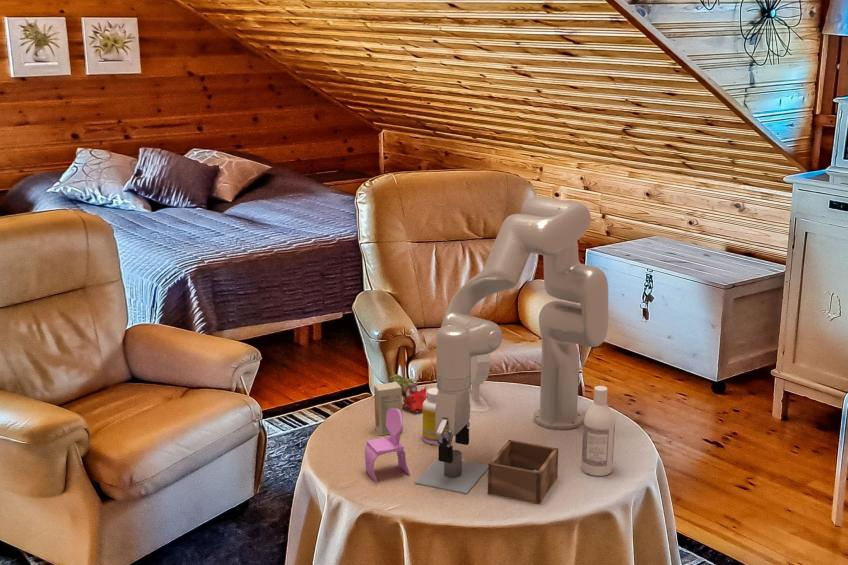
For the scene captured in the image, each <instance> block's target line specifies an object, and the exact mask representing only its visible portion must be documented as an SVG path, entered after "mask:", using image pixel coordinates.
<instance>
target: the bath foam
mask: <svg viewBox="0 0 848 565" xmlns="http://www.w3.org/2000/svg"><path fill="white" fill-rule="evenodd" d="M607 402H608V387H606V386H604V385H596V386H594V389H593V402H592V404H591V405H590V406H589V407H588V408H587V410H586V412H585V414H584V417H583V422H582V425H583V426H582V444H581V445H582V448H581V470H582V471H583V472H584V473H586V474H587V475H589V476H595V477H602V476H603V477H604V476H608V475H609V474H611V473H612V471H613V466H614V465H613V463H614V446H615V445H614V444H615V430H616V425H615V424H616V423H615V422H616V421H615V416H614V413H613V411H612V409H611V407H610V406H609V405H608V403H607Z"/></svg>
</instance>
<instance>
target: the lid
mask: <svg viewBox="0 0 848 565" xmlns="http://www.w3.org/2000/svg"><path fill="white" fill-rule="evenodd" d="M487 472H488V464H484V463H483V464H482V463H478V462H472V461H468V460H463V453H462V451H460V450H459V449H453V462H452V463H446V462H441V461H439V460H438V458H437V459H436V460H434V462H433V463H432V464H431V465H430V466H429V467H427V469H426V470H425V471H424V472H423V473H422V474H421V475H420V476H419V477H418V478H417V479H416V480H415V481H414V485H418V486H424V487H427V488H432V489H436V490H437V489H438V490H442V491H446V492H452V493H456V494H462V495H466V496H467V495H468V494H469V493H470V491H471V490H472V489H474V487H475V486H476V484H477V483H478V482H479V481H480V480H481V478H482V477H483V476H484V475H485V474H486V473H487Z"/></svg>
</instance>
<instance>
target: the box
mask: <svg viewBox="0 0 848 565" xmlns="http://www.w3.org/2000/svg"><path fill="white" fill-rule="evenodd" d="M487 465H488V470H487V494H488V495H491V496H492V495H494V496H496V497H497V496H498V497H503V498H507V499H511V500H512V499H513V500H518V501H522V502H527V503H532V504H537V505H540V504H541V502H542V501H543V500H544V498H545V497H546V495H547V493H548V492H549V491H550V489H551V488H552V486H553V484H554V483H555V482H556V480H557V478H558V471H559V470H558V468H559V467H558V466H559V448H557V447H552V446H546V445H541V444H534V443H529V442H524V441H520V440H513V439H508V440H507V441H506V443H504V445H503V446H502V447H501V448H500V450H499V451H498V452H497V453H496V455H495V456H494V457H493V458H492V459H491V460H490V461H489V462H488V464H487ZM534 470H537V471H538V472H537V471H534Z"/></svg>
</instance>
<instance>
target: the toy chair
mask: <svg viewBox="0 0 848 565" xmlns="http://www.w3.org/2000/svg"><path fill="white" fill-rule="evenodd" d="M402 418H403V413H402V414H401V411H400V410H399V409H395V408H392V409H389V410H388V411H387V415H386V427H387V429H388V430H389V432H390V433H391V434H390V435H389V436H385V437H382V438H375V439H368V440H366V445H365V446H364V461H365V471H366V473H368V475H369V476H370V477H371V478H372V480H374V482H375V483H378V480H377V477H376V473H375V469H374V468H375V467H374V466H375V462H376V460H377V458H378V457H379V456H382V455H386V454H389V453H396V455H397V464H398V466H399V467H400V469H402V470H403V471H404V472H405V473H406V474H407V476H409V477H410V476H411V474H410V471H409V467H408V464H407V460H406V459H407V458H406V456H407V455H406V451H405V450H404V449H405V448H404V445H402V444H401V443H400V440H401V433H402V432H401V431H402V427H403V428H404V424H403V423H402Z"/></svg>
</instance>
